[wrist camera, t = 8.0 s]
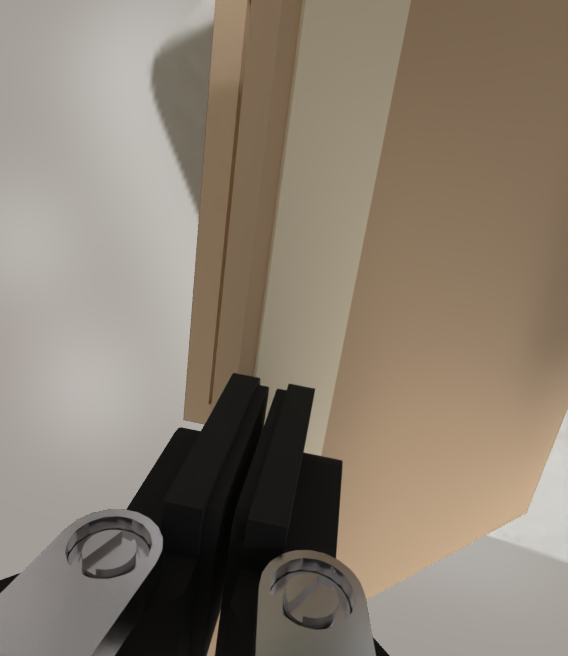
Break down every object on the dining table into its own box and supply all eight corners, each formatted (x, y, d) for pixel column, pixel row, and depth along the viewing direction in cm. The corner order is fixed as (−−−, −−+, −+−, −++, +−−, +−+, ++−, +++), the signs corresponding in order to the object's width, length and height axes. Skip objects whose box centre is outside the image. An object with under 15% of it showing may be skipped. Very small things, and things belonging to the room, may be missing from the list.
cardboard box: (262, -1, 27) (219, -49, 19) (590, 41, 25) (681, 7, 18) (224, 356, 34) (183, 419, 27) (475, 405, 33) (505, 487, 25)
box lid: (280, -286, 8) (324, -323, 7) (697, -11, 17) (736, -13, 17) (186, 660, 16) (202, 693, 15) (507, 499, 25) (528, 514, 24)
